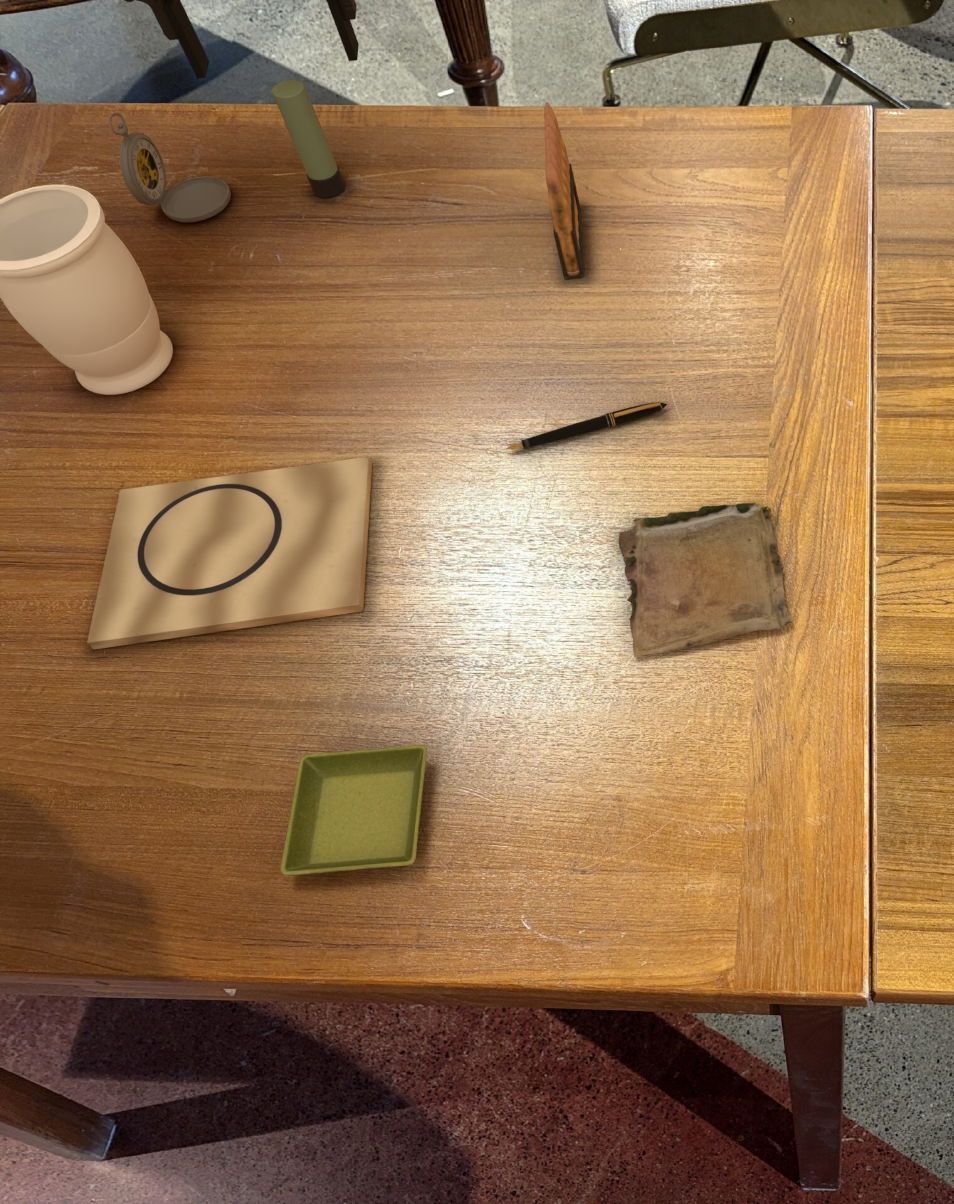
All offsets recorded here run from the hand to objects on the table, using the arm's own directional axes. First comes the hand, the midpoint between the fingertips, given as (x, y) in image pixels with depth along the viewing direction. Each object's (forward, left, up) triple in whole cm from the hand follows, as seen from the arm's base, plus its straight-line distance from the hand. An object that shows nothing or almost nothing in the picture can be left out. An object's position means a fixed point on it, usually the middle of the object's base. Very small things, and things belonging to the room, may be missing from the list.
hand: (279, 61), depth 106 cm
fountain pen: (+24, -38, -14) cm, 47 cm away
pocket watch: (-14, 0, -14) cm, 20 cm away
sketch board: (-4, -46, -14) cm, 48 cm away
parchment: (+32, -55, -14) cm, 65 cm away
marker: (0, 0, -14) cm, 14 cm away
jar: (-17, -22, -14) cm, 31 cm away
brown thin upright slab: (+24, -13, -14) cm, 30 cm away
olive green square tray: (+7, -71, -14) cm, 73 cm away
